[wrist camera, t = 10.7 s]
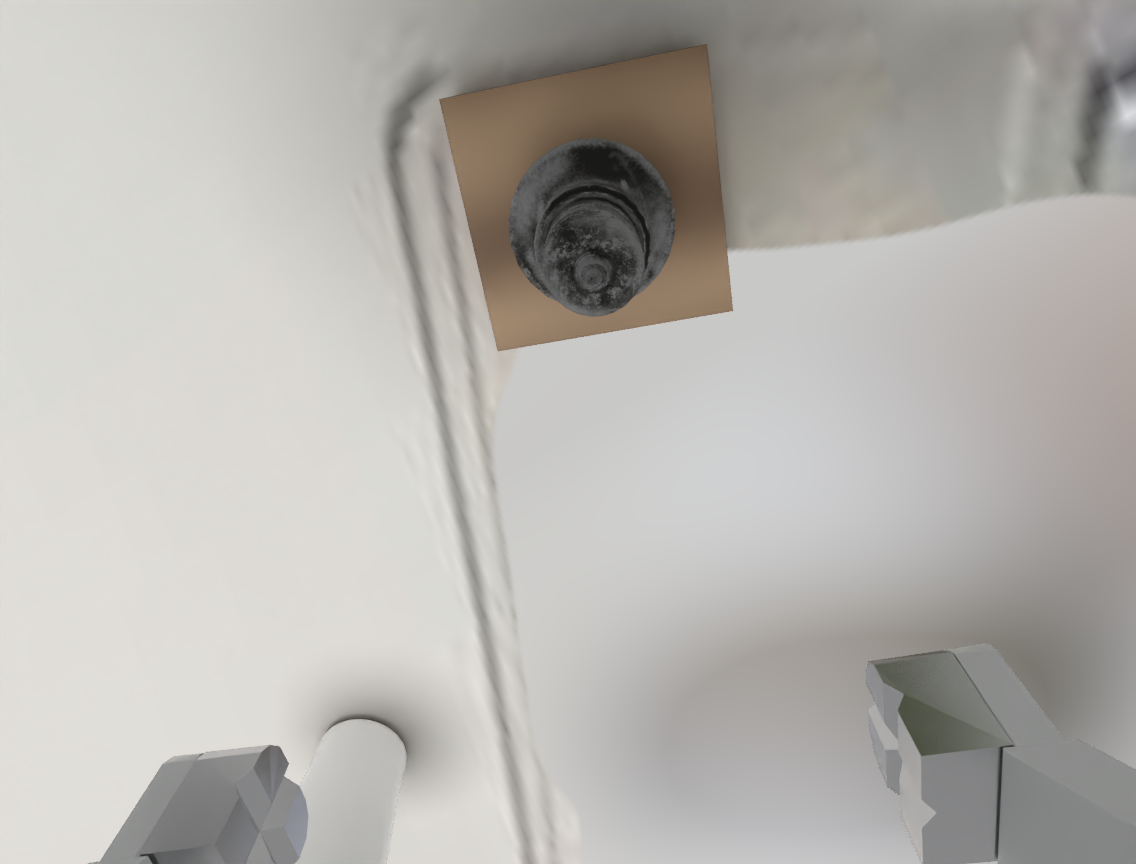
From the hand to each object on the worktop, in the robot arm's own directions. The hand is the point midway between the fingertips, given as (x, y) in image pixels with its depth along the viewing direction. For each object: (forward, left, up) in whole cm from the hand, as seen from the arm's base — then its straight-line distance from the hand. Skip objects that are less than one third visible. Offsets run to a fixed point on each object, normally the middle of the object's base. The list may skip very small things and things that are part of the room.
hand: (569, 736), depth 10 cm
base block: (-4, +1, -26) cm, 26 cm away
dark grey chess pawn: (-4, +1, -23) cm, 23 cm away
